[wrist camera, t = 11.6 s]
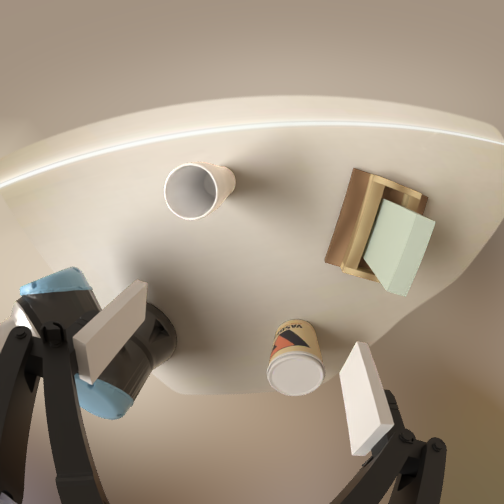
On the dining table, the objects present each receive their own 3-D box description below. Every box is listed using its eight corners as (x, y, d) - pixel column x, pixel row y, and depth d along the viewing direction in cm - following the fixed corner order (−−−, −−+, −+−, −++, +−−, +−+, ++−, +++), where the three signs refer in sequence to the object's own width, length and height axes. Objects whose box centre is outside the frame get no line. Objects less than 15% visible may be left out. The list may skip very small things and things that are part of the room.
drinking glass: (201, 203, 47) (165, 222, 33) (199, 162, 45) (160, 165, 31) (241, 201, 46) (221, 220, 32) (239, 159, 44) (217, 159, 30)
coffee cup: (303, 306, 50) (306, 345, 39) (328, 340, 52) (335, 382, 41) (261, 330, 53) (254, 371, 42) (288, 361, 55) (286, 404, 43)
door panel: (360, 254, 45) (386, 291, 32) (380, 197, 42) (416, 213, 28) (376, 259, 45) (405, 296, 32) (396, 203, 42) (435, 221, 28)
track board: (324, 260, 47) (327, 267, 44) (353, 168, 42) (359, 168, 38) (394, 280, 47) (401, 288, 43) (425, 196, 42) (434, 199, 38)
